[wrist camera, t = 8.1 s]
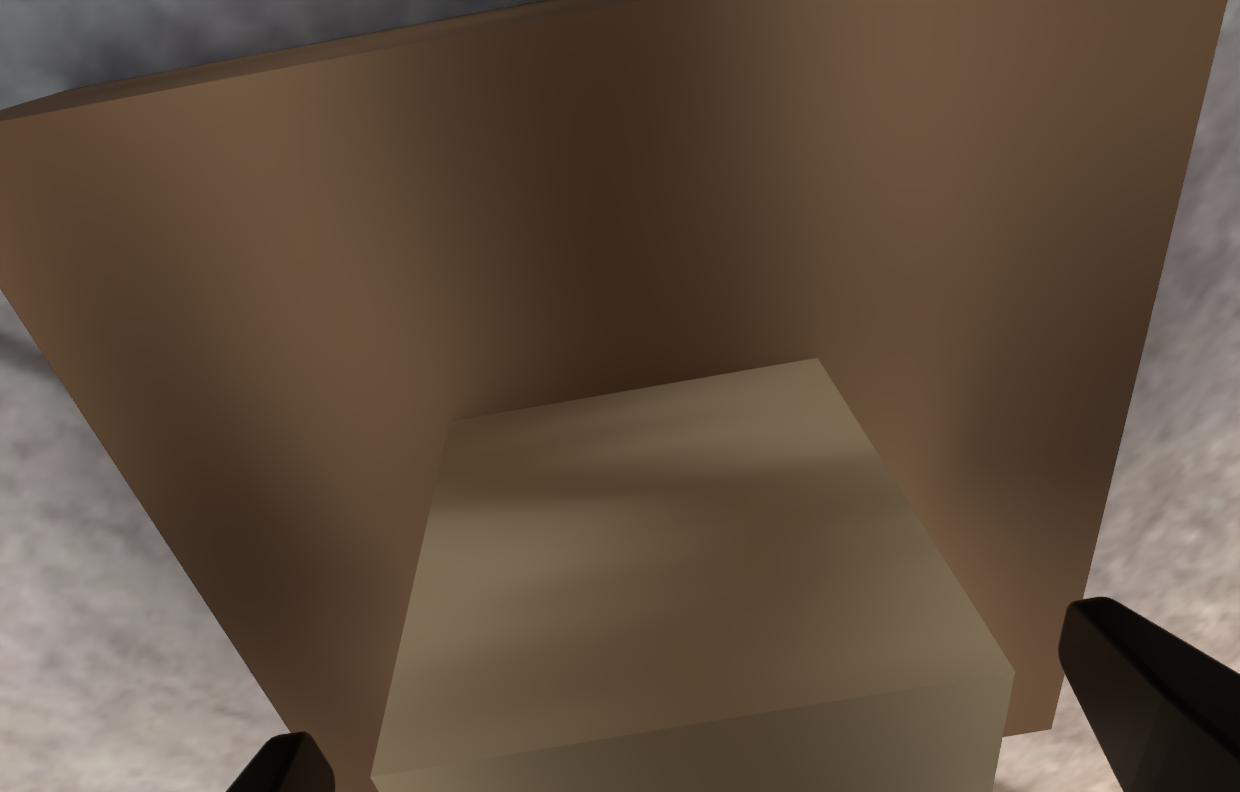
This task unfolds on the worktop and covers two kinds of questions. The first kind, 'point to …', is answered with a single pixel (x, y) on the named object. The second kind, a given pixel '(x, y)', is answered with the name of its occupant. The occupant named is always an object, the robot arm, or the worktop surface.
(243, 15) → the worktop surface
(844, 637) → the maple cube
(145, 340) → the walnut base
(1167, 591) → the worktop surface
